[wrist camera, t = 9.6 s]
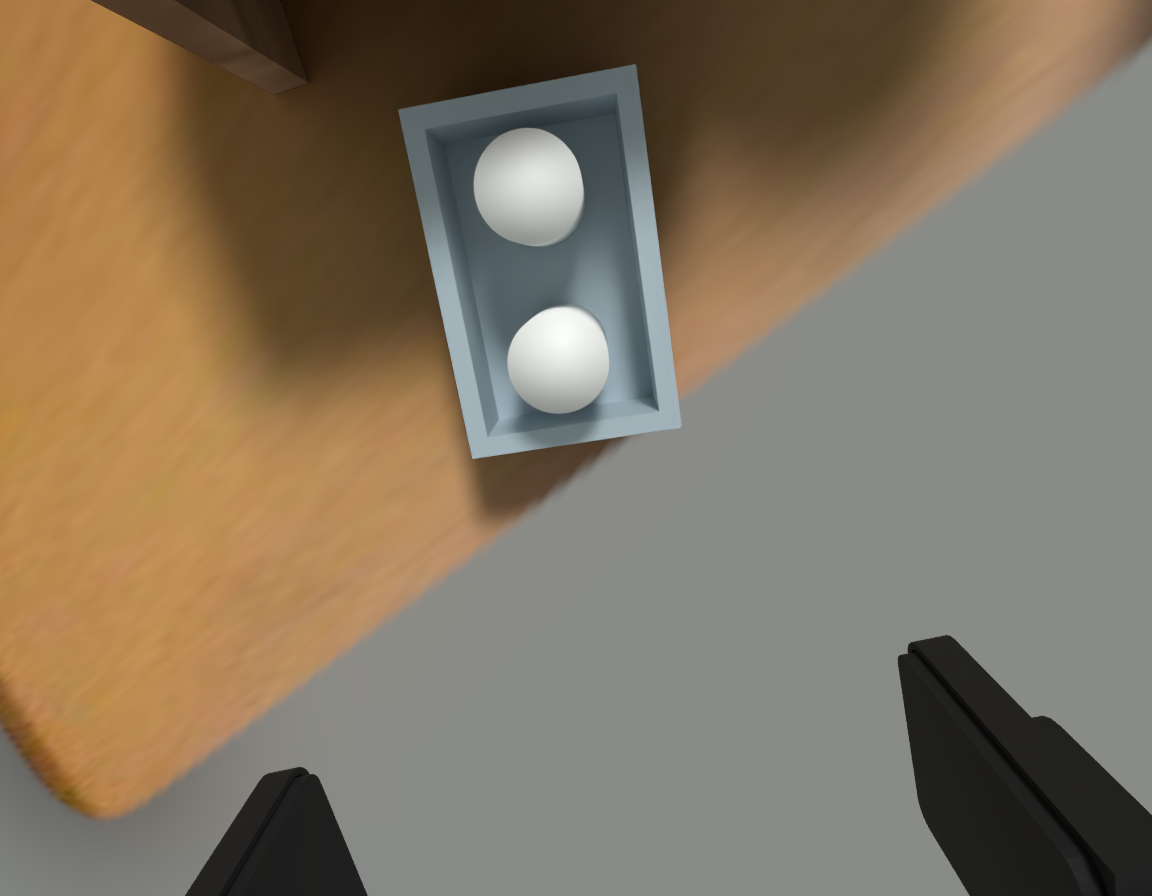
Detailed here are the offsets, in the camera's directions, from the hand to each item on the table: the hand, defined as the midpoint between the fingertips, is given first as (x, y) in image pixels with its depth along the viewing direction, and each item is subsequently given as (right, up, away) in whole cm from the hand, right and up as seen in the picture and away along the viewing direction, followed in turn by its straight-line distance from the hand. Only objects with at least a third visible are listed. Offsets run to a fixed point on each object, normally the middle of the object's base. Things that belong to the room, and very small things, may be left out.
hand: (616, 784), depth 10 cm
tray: (-1, +11, +12) cm, 16 cm away
